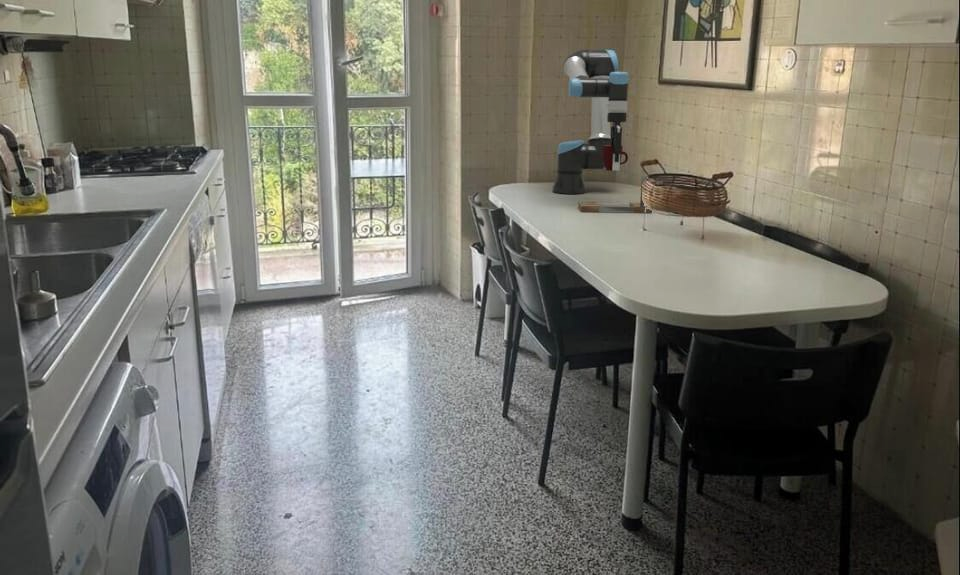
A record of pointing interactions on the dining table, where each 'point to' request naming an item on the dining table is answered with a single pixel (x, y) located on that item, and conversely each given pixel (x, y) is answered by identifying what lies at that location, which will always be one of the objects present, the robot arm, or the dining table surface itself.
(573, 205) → the dining table surface
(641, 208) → the wooden stand
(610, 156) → the mug
